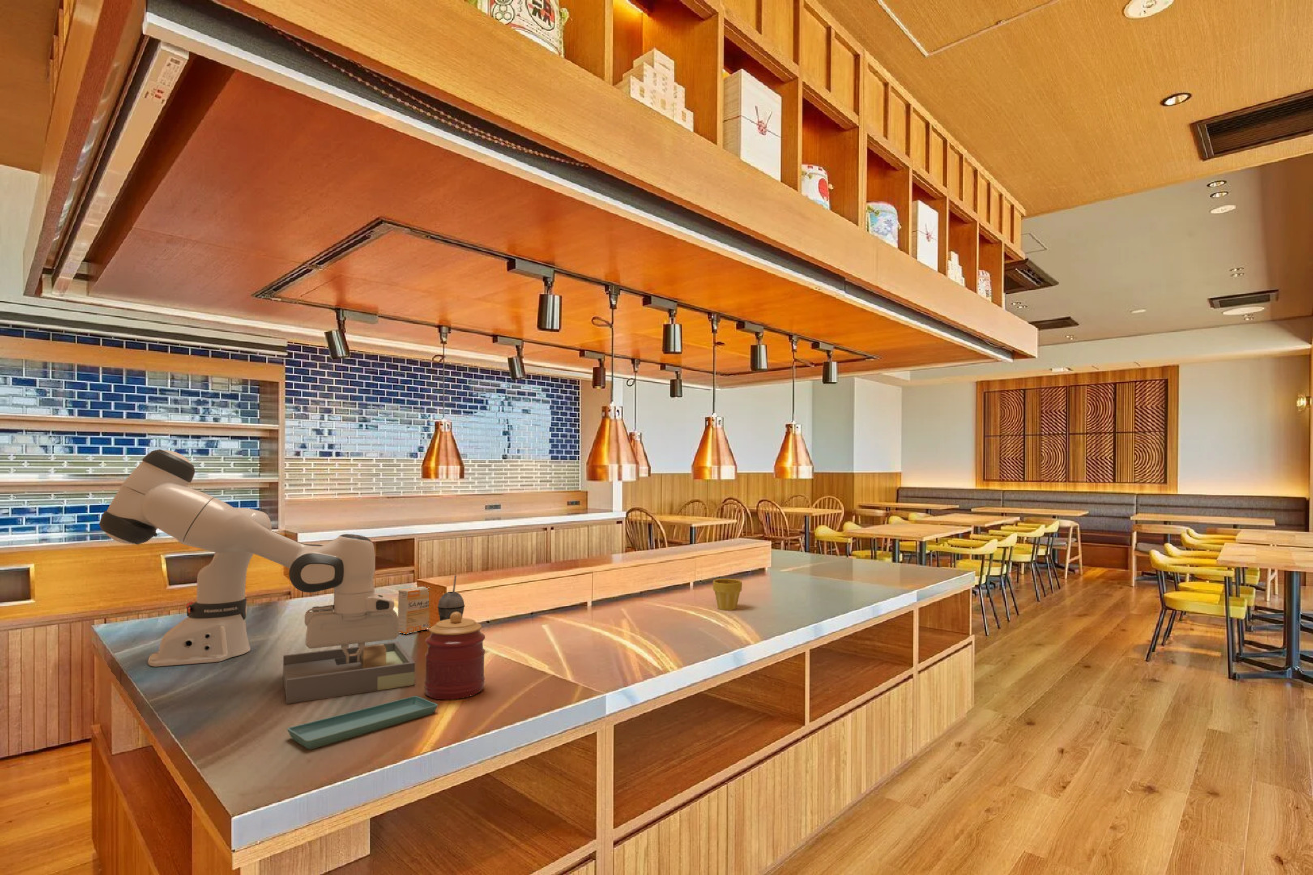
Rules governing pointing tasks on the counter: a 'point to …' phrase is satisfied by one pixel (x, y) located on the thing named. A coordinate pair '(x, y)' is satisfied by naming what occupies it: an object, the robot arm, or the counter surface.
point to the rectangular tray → (360, 722)
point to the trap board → (343, 673)
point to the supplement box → (413, 609)
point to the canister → (454, 659)
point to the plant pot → (727, 593)
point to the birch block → (373, 656)
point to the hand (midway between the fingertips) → (352, 662)
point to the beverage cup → (450, 604)
